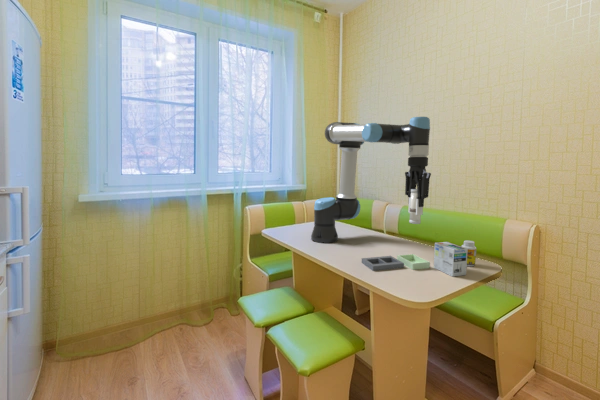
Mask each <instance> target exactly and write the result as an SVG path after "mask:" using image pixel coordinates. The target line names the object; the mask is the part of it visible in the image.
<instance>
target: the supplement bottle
mask: <svg viewBox="0 0 600 400" xmlns="http://www.w3.org/2000/svg"><path fill="white" fill-rule="evenodd" d="M461 247H464V248H468V252H467V267H474V266H475V265H476V256H477V247H476V246H475V241H474V240H469V239H468V240H467V239H466V240H464V241H463V244H462V245H461Z"/></svg>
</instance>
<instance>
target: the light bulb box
mask: <svg viewBox="0 0 600 400" xmlns="http://www.w3.org/2000/svg"><path fill="white" fill-rule="evenodd" d="M461 246H462V245H461ZM461 246H460V245H458V244H454V243H451V242H449V241H443V242H442V241H441V242H434V253H433V256H434V257H433V269H436V270H439V271H440V272H442V273H444V274H446V275H449V276H451V277H460V276H466V275H467V268H468V266H467V252H468V248H464V247H461Z"/></svg>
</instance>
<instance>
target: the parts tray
mask: <svg viewBox="0 0 600 400" xmlns="http://www.w3.org/2000/svg"><path fill="white" fill-rule="evenodd" d="M396 259H397V260H399V261H401V262H403V263H404V267H407V268H408V269H411V270H413V271H414V270H415V271H416V270H423V269H424V270H425V269H430V266H431V262H430V261H429V260H427V259H425V258H422V257H420V256H418V255H417V254H414V253H411V254H408V253H407V254H398V255H396Z"/></svg>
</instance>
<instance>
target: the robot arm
mask: <svg viewBox="0 0 600 400" xmlns="http://www.w3.org/2000/svg"><path fill="white" fill-rule="evenodd" d="M430 120H431V119H430V117H428V116H413V117H411V118H410V119H409V123H407V124H389V123H388V124H386V123H377V122H371V123H365V124H364V123H363V124H362V123H361V124H360V123H357V122H341V121H340V122H339V121H336V122H331V123H329V124H328V125H327V126H326V127H325V130H324V137H325V139H326V140H327V142H329V143H331V144H333V145H338V146H339V147H338V148H339V149H340V150H341V159H340V175H339V190H338V191H339V192H338V194H337V195H335V196H336V197H330V196H329V197H321V198H318V199H316V200H315V201H314V207H313V211H314V213H313V214H314V216H313V219H314V223H313V224H314V225H313V229H312V232H311V235H310V240H311V239H312V240H314V241H313V242H315V241H317V242H316V243H320V242H324V243H323V244H328V243H329V242H331V243H336V242H337V240H339V234H338V232H337V229H336V221H343V220H344V221H345V220H351V219H352V220H353V219H355V218H357V217H358V216H359V215H360V212H361V204H360V201H359V199H357V198H358V196H357V195H356V194H355V190H356V189H355V188H356V177H357V175H356V174H357V163H358V162H357V161H358V151H359V150H360V149H361V146H362V145H364V144H365V142H367V143H386V144H387V143H389V144H405V143H408V156H409V157H408V158H407V166H408V167H409V170H408V171H405V172H404V176H405V185H404V187H405V188H404V189H405V190H404V195H405V196H407V198H408V202H407V203H408V209H407V210H408V214H410V200H411V189H417V192H418V197H417V199H416V215H421V216H422V215H424V214H423V213H424V205H425V204H424V203H425V199H426V198H427V199H428V198H429V191H430V190H429V189H430V178H431V175H432V173H431V172H428V171H427V170H426V167H428V165H429V158H428V156H429V153H430V152H429V150H430V131H431V124H430V123H431V121H430ZM312 240H311V241H312ZM335 241H336V242H335ZM329 244H330V243H329Z"/></svg>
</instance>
